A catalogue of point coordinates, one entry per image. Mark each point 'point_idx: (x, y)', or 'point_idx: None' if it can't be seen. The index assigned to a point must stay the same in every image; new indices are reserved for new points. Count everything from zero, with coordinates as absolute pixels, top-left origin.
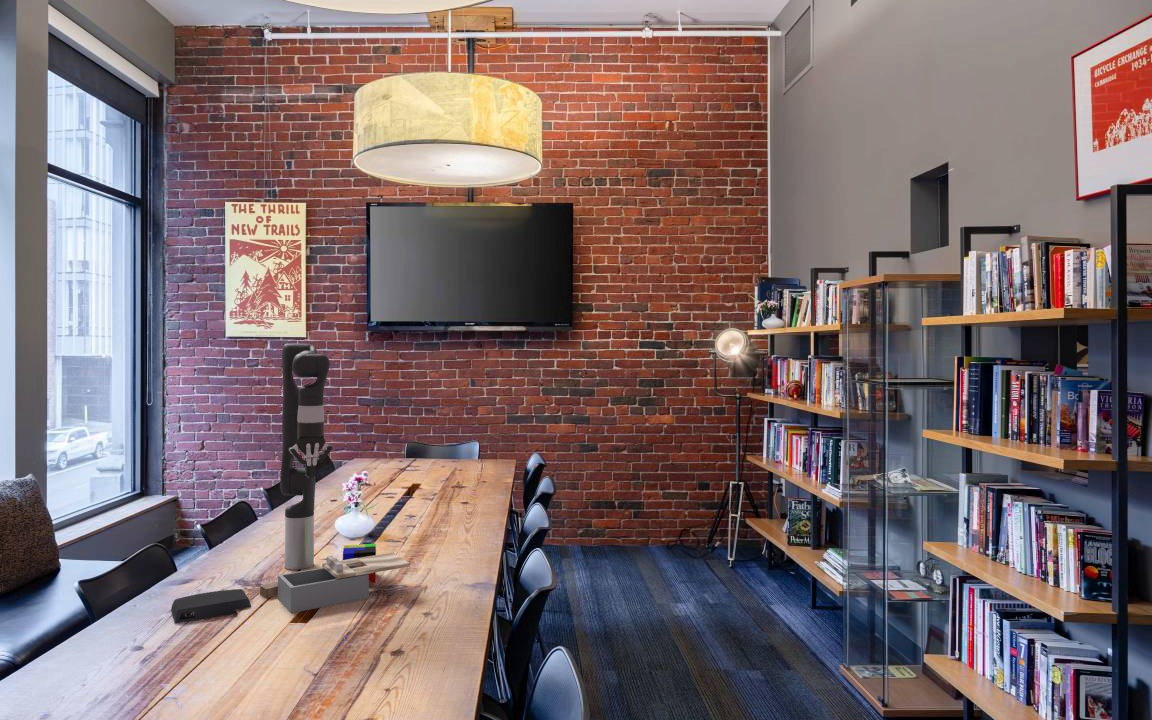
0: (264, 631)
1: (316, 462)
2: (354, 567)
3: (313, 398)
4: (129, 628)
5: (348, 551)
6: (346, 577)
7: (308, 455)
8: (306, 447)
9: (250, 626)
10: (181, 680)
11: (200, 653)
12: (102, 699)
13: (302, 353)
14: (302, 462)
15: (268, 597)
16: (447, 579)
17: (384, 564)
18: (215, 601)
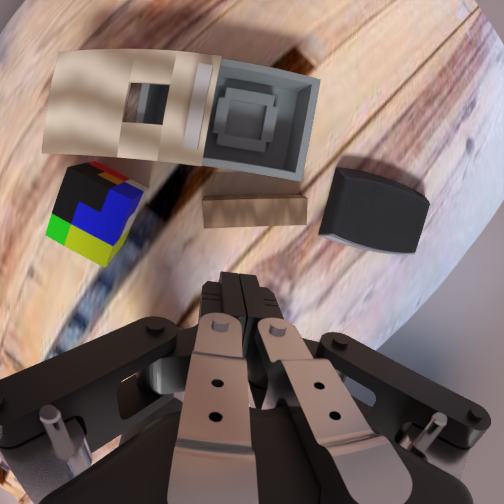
0: (358, 64)
1: (202, 326)
2: (143, 121)
3: None
4: (455, 219)
5: (114, 210)
6: None
7: (318, 374)
8: (393, 450)
9: (366, 99)
10: (458, 27)
11: (435, 68)
12: (500, 56)
13: None
14: (345, 339)
15: (297, 195)
16: (5, 107)
17: (98, 69)
18: (389, 197)
